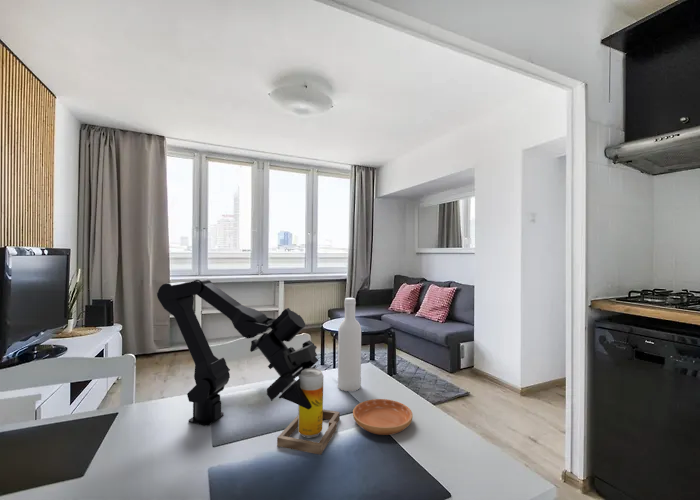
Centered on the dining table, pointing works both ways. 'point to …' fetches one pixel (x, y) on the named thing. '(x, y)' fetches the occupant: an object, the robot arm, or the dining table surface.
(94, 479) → the dining table surface
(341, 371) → the bottle
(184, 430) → the dining table surface
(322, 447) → the brown rectangular frame
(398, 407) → the saucer
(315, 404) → the beer can
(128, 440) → the dining table surface
